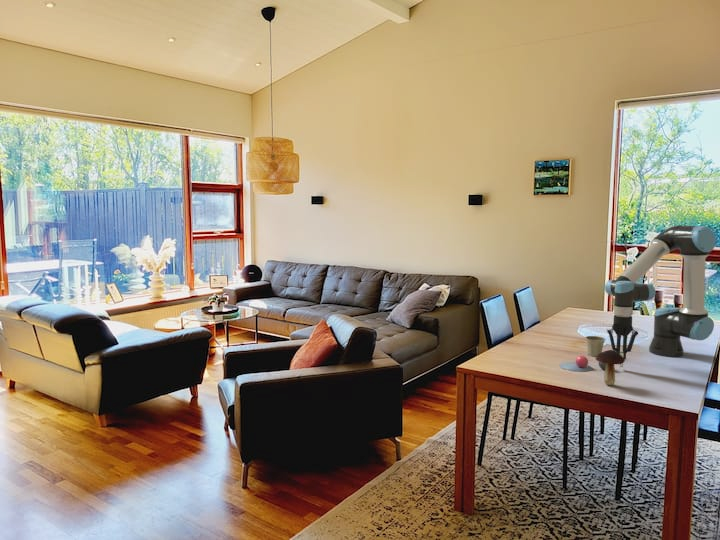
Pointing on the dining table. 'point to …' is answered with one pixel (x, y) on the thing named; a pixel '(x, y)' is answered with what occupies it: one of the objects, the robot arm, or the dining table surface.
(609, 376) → the decorative mushroom
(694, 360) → the dining table surface
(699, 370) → the dining table surface
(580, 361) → the cranberry ball
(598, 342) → the flower pot
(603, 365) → the grey ball
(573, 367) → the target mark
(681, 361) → the dining table surface
